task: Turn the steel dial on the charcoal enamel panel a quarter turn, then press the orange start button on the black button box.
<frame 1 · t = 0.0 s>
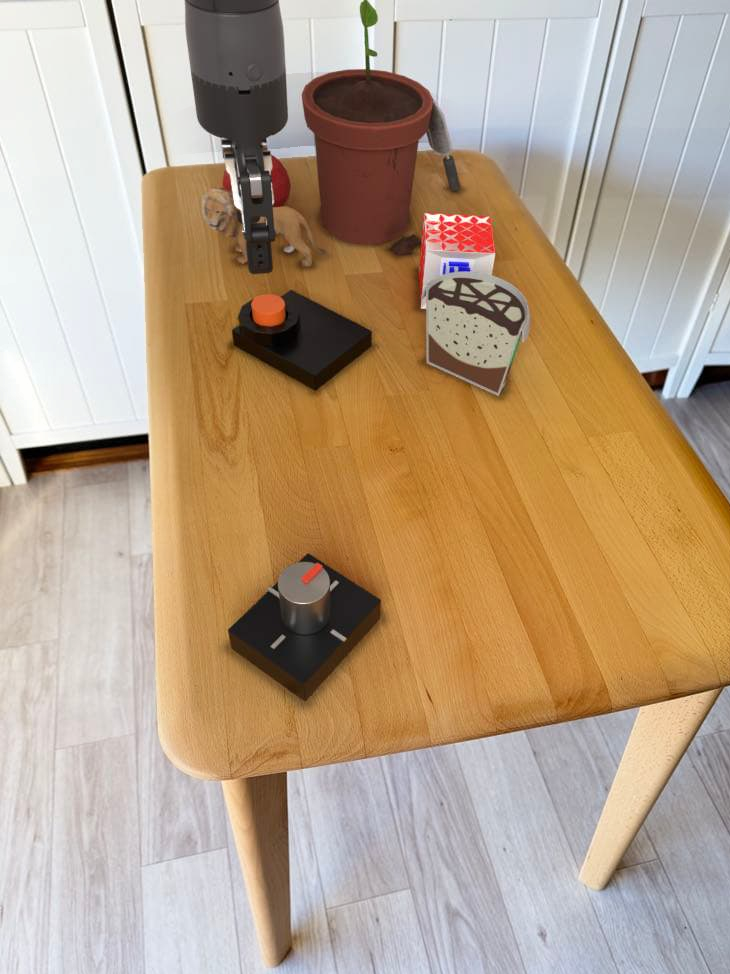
hand: (254, 245, 77), 15 cm above the table, tool pointing down, fingers open, 8 cm apart
lion figurine: (263, 260, 103), on the table
red white box: (451, 292, 101), on the table
start button: (268, 310, 89), point 4 cm above the table, slide at 0.1 cm
potted plant: (386, 219, 110), on the table
dial panel: (307, 633, 69), on the table
black button box: (303, 346, 92), on the table
tomato: (259, 212, 110), on the table
dial: (304, 597, 65), point 5 cm above the table, hinge at 0.0°
food container: (475, 366, 92), on the table
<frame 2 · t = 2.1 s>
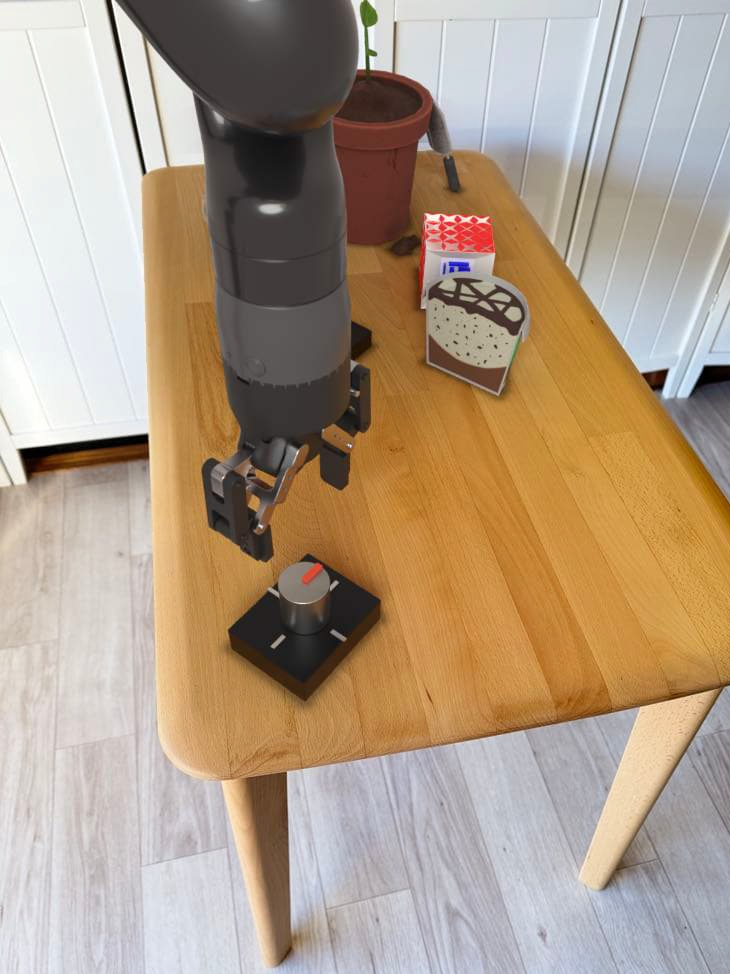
hand: (298, 517, 59), 13 cm above the table, tool pointing down, fingers open, 8 cm apart
nothing on the table moved.
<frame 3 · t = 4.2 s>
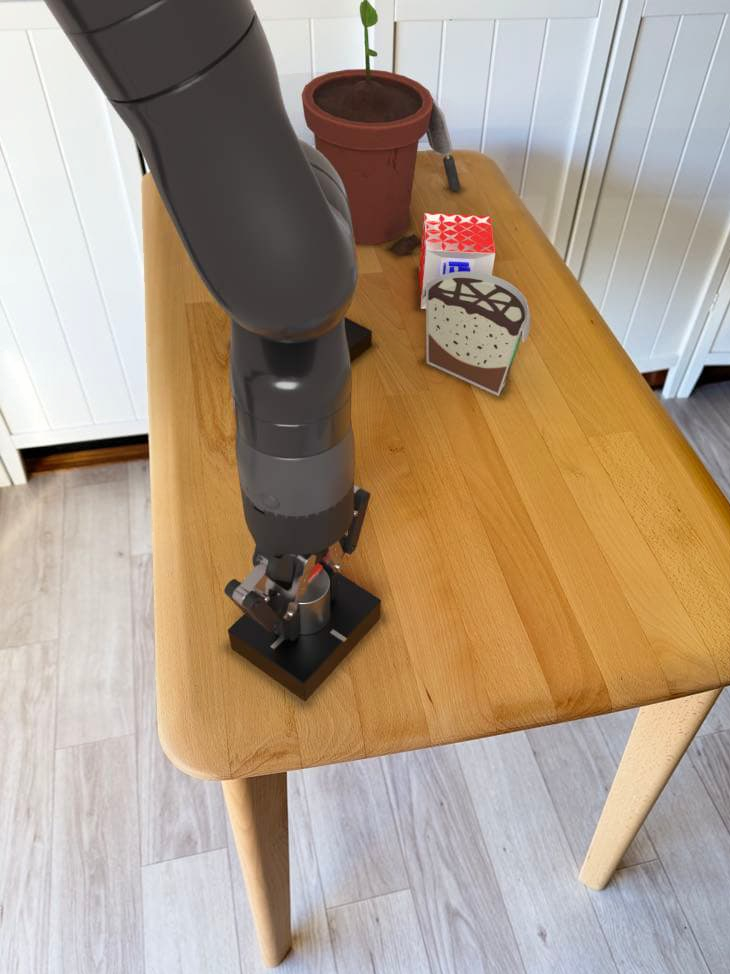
hand: (305, 612, 66), 3 cm above the table, tool pointing down, fingers closed on dial, 4 cm apart
dial: (304, 597, 65), point 5 cm above the table, hinge at -0.1°, touching gripper
everything else where it was.
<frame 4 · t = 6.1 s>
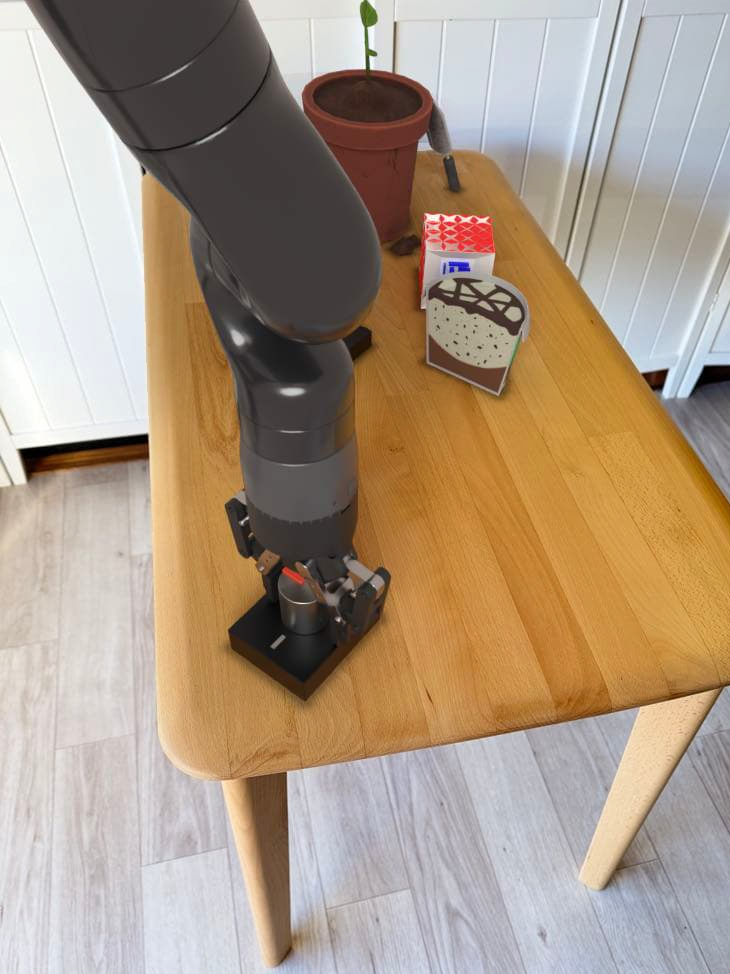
hand: (310, 615, 66), 3 cm above the table, tool pointing down, fingers open, 6 cm apart
dial: (304, 597, 65), point 5 cm above the table, hinge at 90.0°
everything else where it was.
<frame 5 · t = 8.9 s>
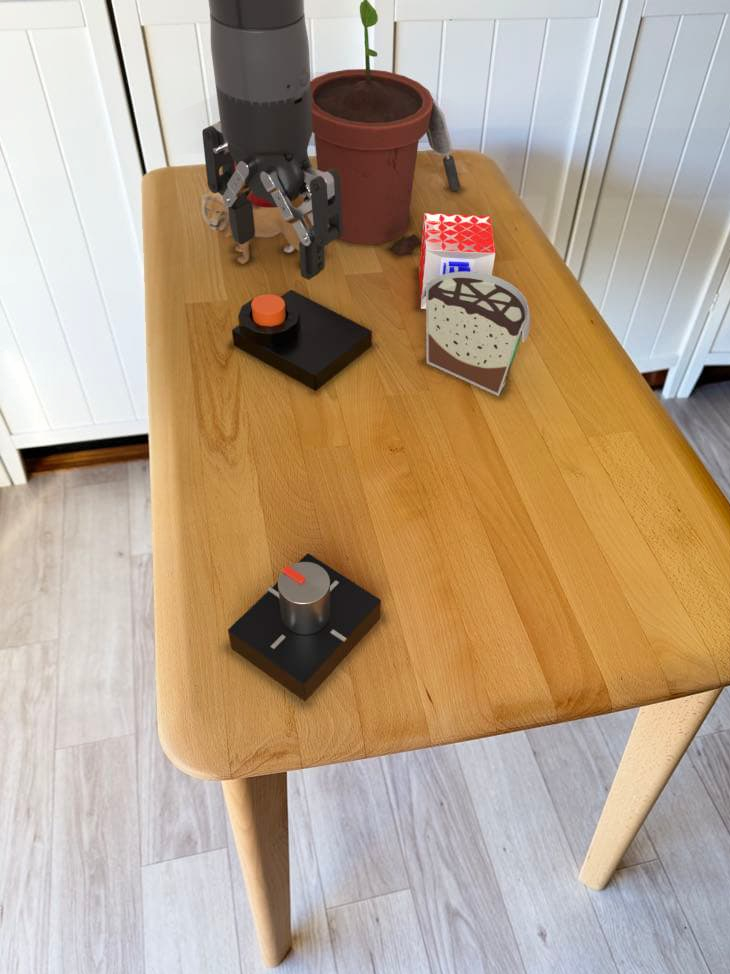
hand: (278, 257, 77), 15 cm above the table, tool pointing down, fingers open, 8 cm apart
nothing on the table moved.
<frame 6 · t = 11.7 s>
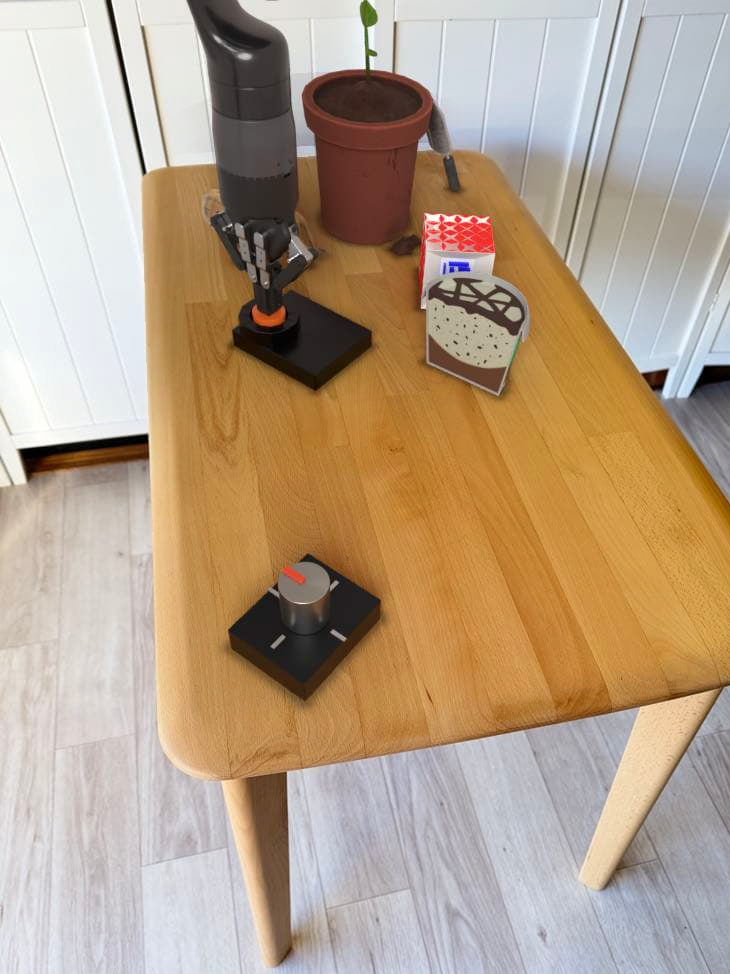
hand: (269, 310, 89), 4 cm above the table, tool pointing down, fingers closed
start button: (269, 317, 90), point 4 cm above the table, slide at -0.8 cm, touching gripper
everything else where it was.
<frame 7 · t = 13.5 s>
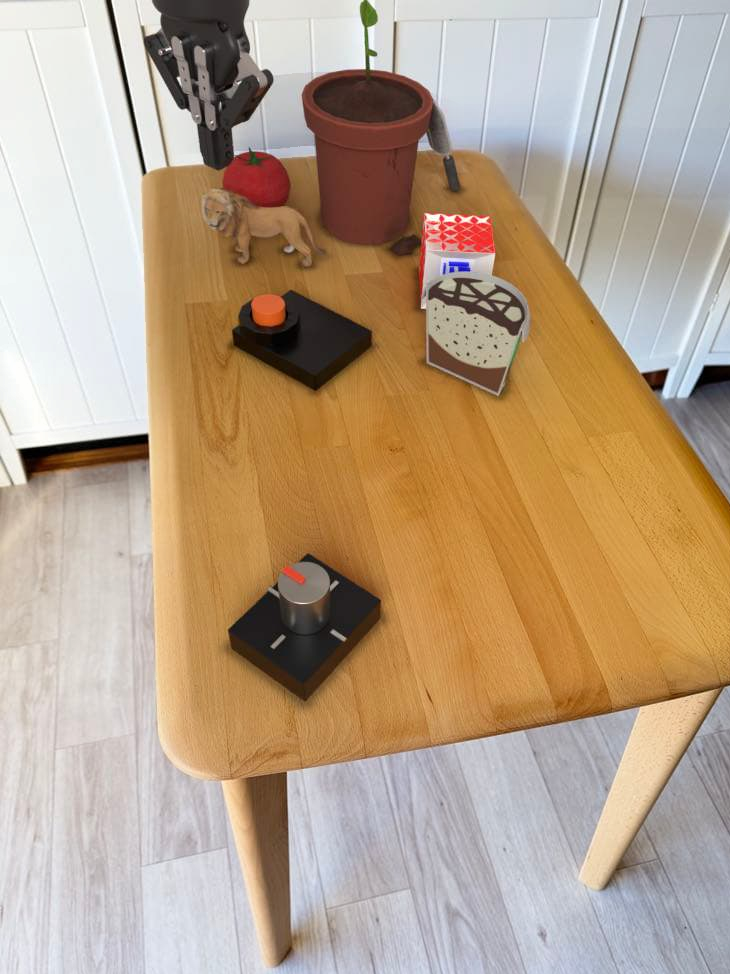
hand: (218, 165, 74), 22 cm above the table, tool pointing down, fingers closed
start button: (268, 310, 89), point 4 cm above the table, slide at 0.1 cm
everything else where it was.
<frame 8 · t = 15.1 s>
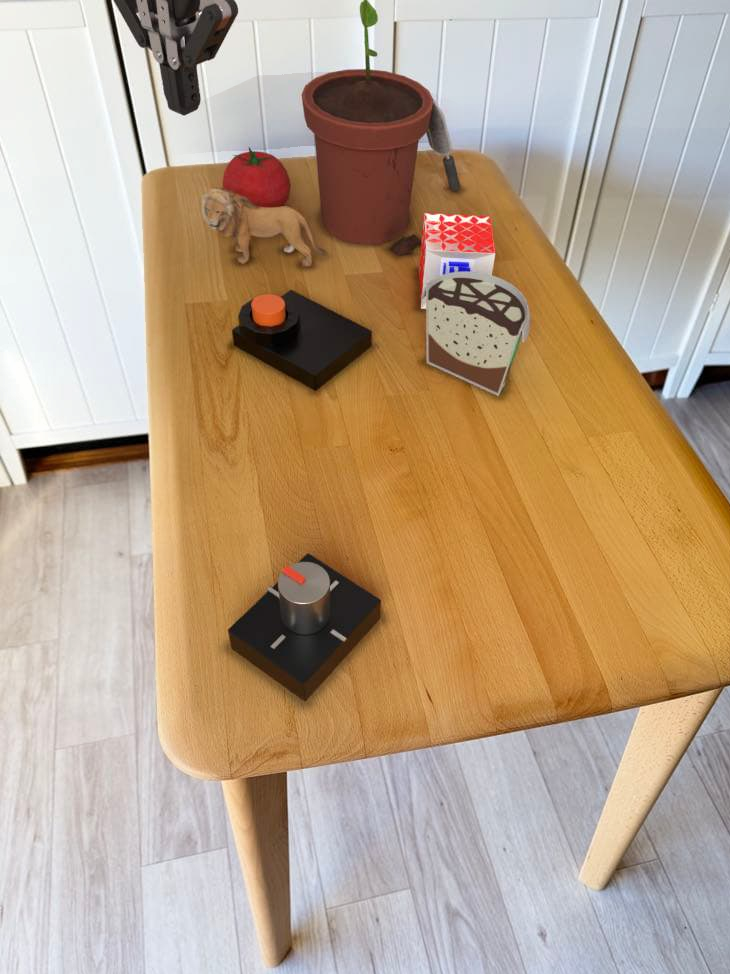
hand: (184, 110, 69), 27 cm above the table, tool pointing down, fingers closed
nothing on the table moved.
at the end: dial at +90° (first picture: +0°); start button pushed in 1.0 cm at the most during the clip, back to where it started at the end; start button slide at 0.1 cm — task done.
